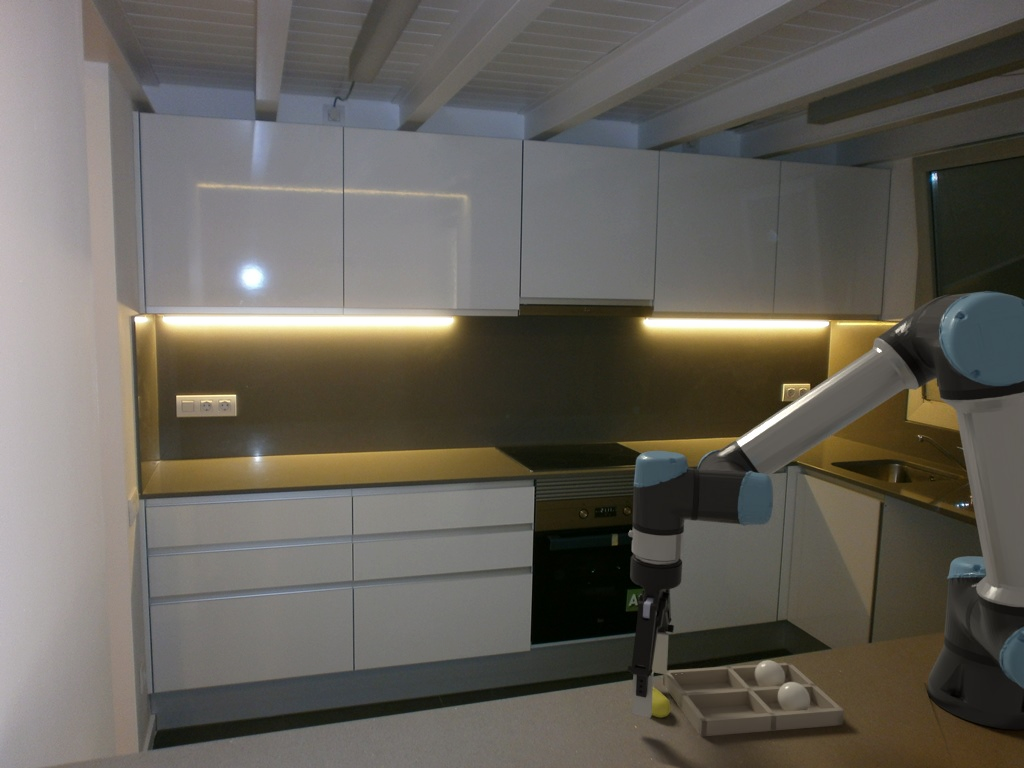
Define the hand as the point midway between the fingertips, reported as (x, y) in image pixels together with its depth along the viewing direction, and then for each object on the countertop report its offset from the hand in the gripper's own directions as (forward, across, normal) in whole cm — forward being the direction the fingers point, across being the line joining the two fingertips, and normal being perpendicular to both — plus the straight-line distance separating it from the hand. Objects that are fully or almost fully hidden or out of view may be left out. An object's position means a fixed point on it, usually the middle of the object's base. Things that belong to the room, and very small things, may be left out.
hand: (650, 692), depth 114 cm
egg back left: (+2, -7, +20) cm, 22 cm away
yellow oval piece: (+3, 0, 0) cm, 3 cm away
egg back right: (+2, -13, +17) cm, 21 cm away
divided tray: (+3, -7, +14) cm, 16 cm away
